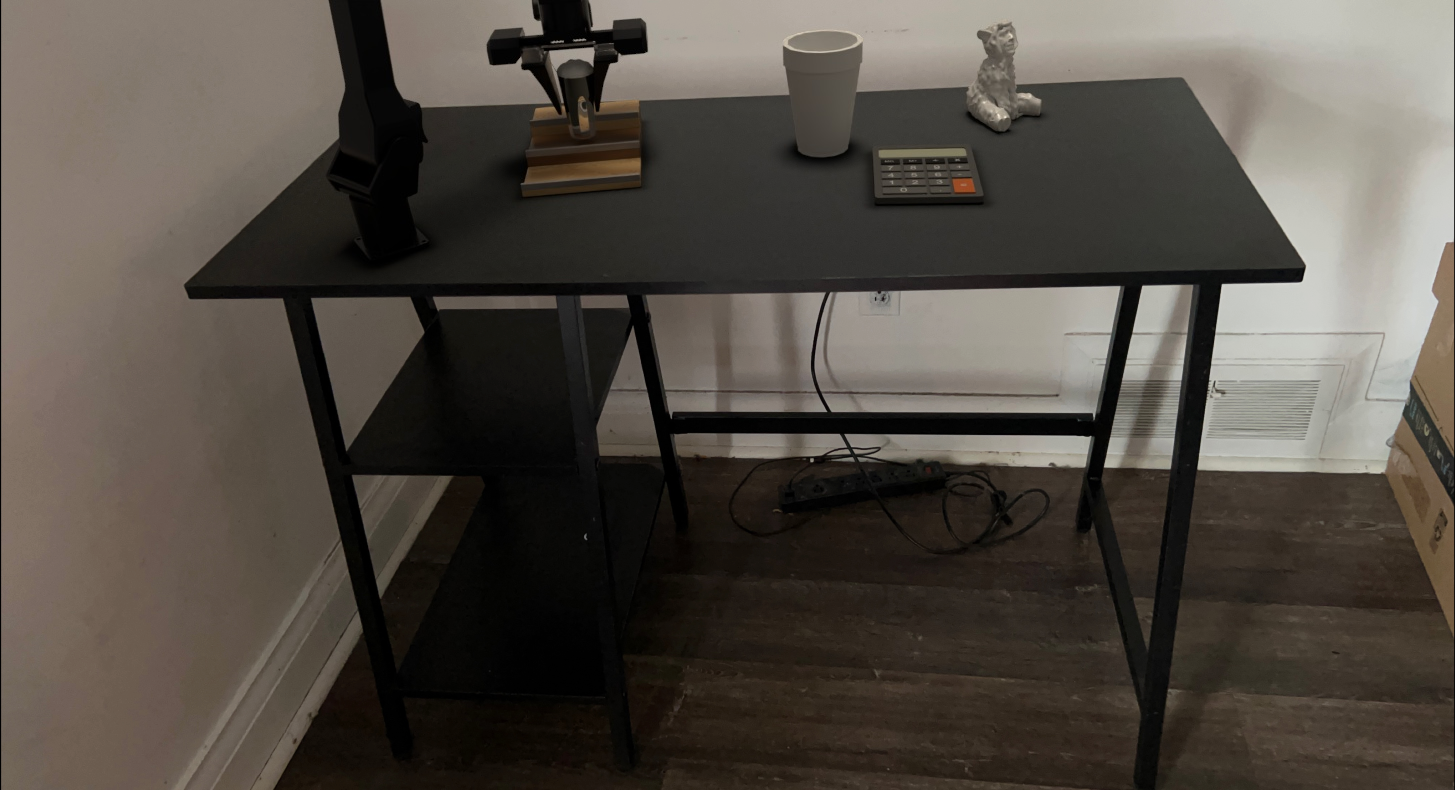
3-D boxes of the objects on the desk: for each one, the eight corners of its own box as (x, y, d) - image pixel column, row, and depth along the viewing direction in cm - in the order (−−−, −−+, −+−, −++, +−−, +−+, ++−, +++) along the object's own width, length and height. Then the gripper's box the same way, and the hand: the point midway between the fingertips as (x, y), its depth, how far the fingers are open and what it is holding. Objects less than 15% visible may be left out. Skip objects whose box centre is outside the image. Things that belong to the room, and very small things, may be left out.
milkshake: (556, 132, 121) (544, 52, 115) (597, 126, 123) (588, 47, 117) (562, 144, 118) (550, 62, 112) (605, 138, 119) (595, 56, 113)
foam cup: (874, 152, 117) (877, 44, 109) (805, 167, 114) (804, 58, 107) (838, 128, 124) (839, 25, 117) (773, 142, 122) (770, 38, 114)
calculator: (875, 196, 104) (872, 144, 116) (874, 204, 105) (872, 151, 117) (984, 194, 103) (970, 142, 115) (983, 202, 103) (969, 149, 115)
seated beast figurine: (1001, 134, 119) (1012, 36, 112) (945, 119, 124) (952, 24, 117) (1044, 114, 124) (1057, 18, 117) (988, 100, 129) (998, 7, 122)
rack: (641, 187, 113) (637, 154, 110) (522, 197, 113) (516, 165, 110) (641, 122, 131) (638, 93, 128) (539, 131, 130) (534, 102, 128)
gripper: (640, -42, 116) (653, 86, 125) (487, -30, 116) (511, 97, 125) (640, -22, 107) (654, 115, 116) (473, -9, 107) (501, 127, 116)
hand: (579, 112), depth 118 cm, fingers closed on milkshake, 4 cm apart
